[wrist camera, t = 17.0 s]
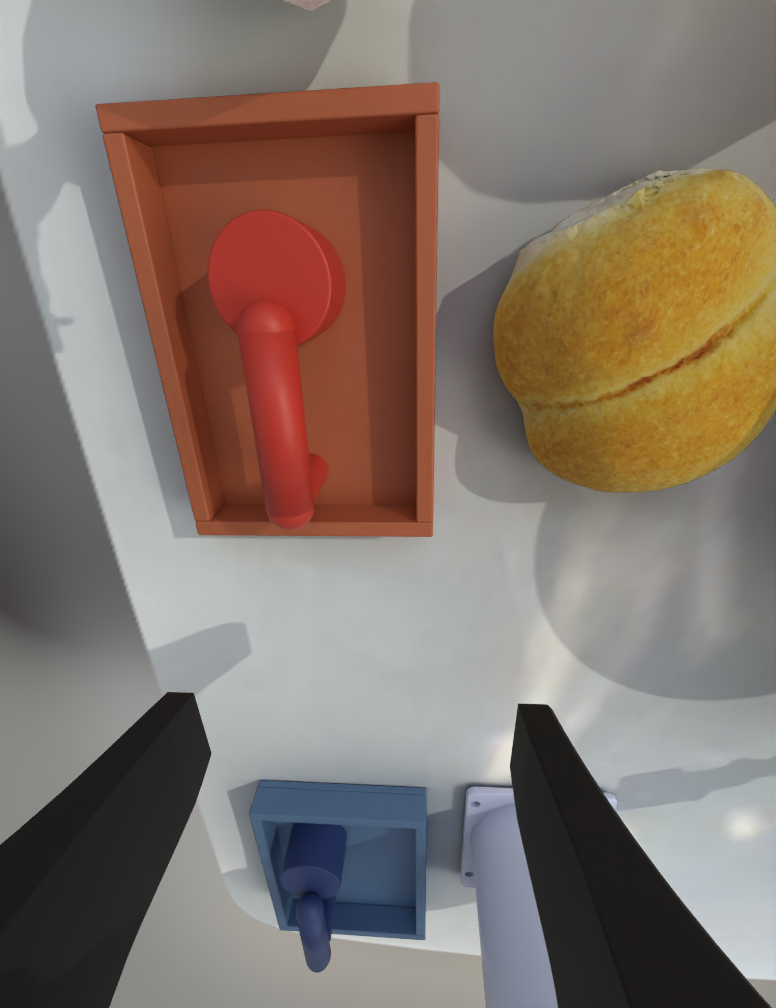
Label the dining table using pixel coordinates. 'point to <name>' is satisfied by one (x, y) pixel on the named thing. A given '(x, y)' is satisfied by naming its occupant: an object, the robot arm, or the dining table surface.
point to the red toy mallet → (277, 342)
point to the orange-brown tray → (359, 326)
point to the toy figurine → (308, 3)
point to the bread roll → (645, 332)
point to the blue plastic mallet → (315, 884)
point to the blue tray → (352, 852)
